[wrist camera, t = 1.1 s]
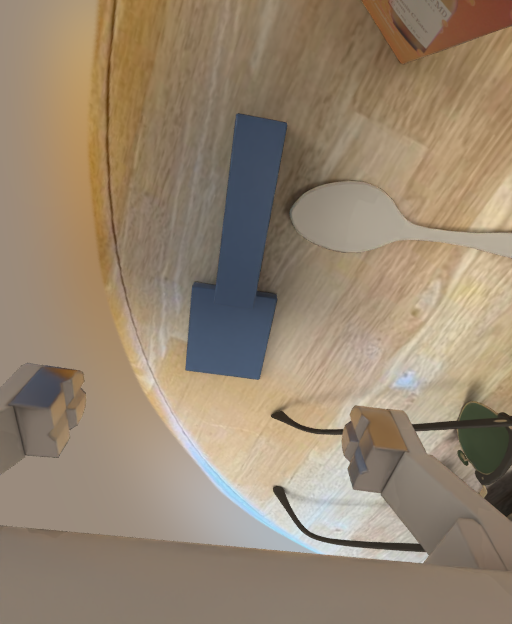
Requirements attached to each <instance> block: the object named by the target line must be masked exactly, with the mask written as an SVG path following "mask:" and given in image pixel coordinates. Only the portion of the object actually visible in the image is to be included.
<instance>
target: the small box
mask: <svg viewBox="0 0 512 624" xmlns="http://www.w3.org/2000/svg"><path fill="white" fill-rule="evenodd" d="M362 2H363V4H364V5H365V7H366V8H367V10H368V12H369V13H370V15H371V17H372V18H373V20H374V21H375V23H376V25H377V26H378V28H379V29H380V31H381V33H382V34H383V36H384V37H385V39H386V41H387V42H388V44H389V45H390V47H391V49H392V50H393V52H394V53H395V55H396V57H397V58H398V60H399V61H400V62H401V63H402V64H405V63H408V62H411V61H414V60H417V59H420V58H423V57H426V56H428V55H431V54H434V53H437V52H440V51H443V50H445V49H448V48H451V47H454V46H457V45H460V44H463V43H466V42H468V41H471V40H473V39H476V38H479V37H481V36H484V35H487V34H490V33H492V32H495V31H498V30H501V29H504V28H507V27H510V26H512V0H362Z"/></svg>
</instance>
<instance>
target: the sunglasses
mask: <svg viewBox="0 0 512 624" xmlns="http://www.w3.org/2000/svg"><path fill="white" fill-rule="evenodd" d="M271 417H272V418H274V419H277V420H279V421H282V422H284V423H286V424H288V425H291V426H293V427H295V428H297V429H300V430H303V431H306V432H310V433H315V434H330V435H342V433H343V430H344V429H313V428H309V427H305V426H302V425H300V424H298V423H296V422H295V421H293V420H292V419H290V418H289V417H288V416H287V415H286V414H285V413H284V412H283V411H279V412H276V413H274V414H272V415H271ZM412 426H413V428H414V430H415V431H429V430H447V429H457V434H458V439H459V442H460V445H461V448H462V450H463V452H464V453H463V452H462V451H461V450H458V456H459V458H460V460H461V461H462V462H463V464H464V465H466V466H467V465H468V461H469V462H470V463H471V464H472V465H473V467H474V468H475V469H476V471H475V475H476V477H477V479H478V480H479V482H480V483H481V484H482V490H481V492H480V493H479V495H481V496H482V497H483V498H484V497H485V496H486V494H487V489H486V487H485V485H489V484H491V483H494V482H495V481H497V480H498V479H500V478H501V477H502V476H503V475H504V474H505V473H506V472H507V470H508V469H509V468H510V466H511V465H512V416H509V415H507V414H506V413H504V412H501V413H499V414H498V413H496V412H495V411H494V410H492V409H491V408H489V407H487V406H485V405H484V404H482V403H479V402H474V401H471V402H468V403H467V404H466V405H465V406H464V408H463V409H462V411H461V414H460V417H459V420H458V421H449V422H436V423H424V424H412ZM464 454H465V455H466V456H465V455H464ZM466 457H467V458H466ZM273 491H274V493H275V495H276V496H277V497H278V499H279V500H280V502H281V503H282V505H283V506H284V508H285V509H286V511H287V512H288V514H289V515H290V517H291V518H292V520H293V521H294V523H295V524H296V525H297V527H298V528H299V529H300V530H301V531H302V532H303V533H304V534H306V535H307V536H309V537H311V538H313V539H315V540H319V541H322V542H326V543H331V544H336V545H343V546H351V547H361V548H373V549H386V550H399V551H415V552H426V551H425V550H424V549H423V547H422V546H421V545H420V544H411V543H382V542H363V541H350V540H339V539H330V538H325V537H321V536H318V535H315V534H313V533H311V532H310V531H308V530H307V529H306V528H305V527H304V526H303V525H302V524H301V523H300V521H299V520H298V518H297V517H296V515H295V514H294V512H293V510H292V508H291V506H290V504H289V502H288V500H287V497H286V494H285V491H284V489H283V488H281V487H278V486H276V487H274V488H273Z"/></svg>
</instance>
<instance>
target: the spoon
mask: <svg viewBox="0 0 512 624" xmlns="http://www.w3.org/2000/svg"><path fill="white" fill-rule="evenodd" d="M289 214H290V218H291V221H292V224H293V226H294V228H295V229H296V231H297V232H298V233H299V234H300V235H301V236H302V237H303V238H304V239H306V240H308V241H310V242H312V243H314V244H316V245H318V246H321V247H324V248H326V249H329V250H334V251H338V252H343V253H361V252H364V251H369V250H373V249H376V248H379V247H381V246H383V245H386V244H388V243H392V242H395V241H398V240H423V241H433V242H443V243H448V244H454V245H460V246H466V247H471V248H475V249H478V250H482V251H485V252H489V253H493V254H496V255H500V256H504V257H508V258H512V233H468V232H456V231H445V230H438V229H432V228H426V227H422V226H418V225H415V224H413V223H411V222H409V221H408V220H406V219H405V217H404V216H403V215H402V213H401V212H400V211H399V209H398V207H397V206H396V204H395V202H394V201H393V199H392V198H391V197H390V196H389V195H388V194H387V193H385V192H384V191H383V190H382V189H381V188H379V187H376V186H374V185H371V184H369V183H366V182H357V181H342V182H334V183H329V184H325V185H321V186H318V187H315V188H313V189H311V190H309V191H307V192H305V193H304V194H303V195H302V196H301V197H300V198H299V199H298V200H297V201H296V202H295V203H294V205H293V206H292V207H291V209H290V212H289Z"/></svg>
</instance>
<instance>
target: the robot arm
mask: <svg viewBox="0 0 512 624" xmlns="http://www.w3.org/2000/svg"><path fill="white" fill-rule="evenodd" d="M83 383H84V374H83V372H82V371H80V370H73V369H67V368H60V367H53V366H44V365H38V364H31V363H26V364H24V365H22V366H21V367H20V368H19V369H18V370H17V371H16V372H15V373H14V374H13V375H12V376H11V377H10V378H9V379H8V380H7V381H6V382H5V383H4V384H3V385H2V386H1V387H0V475H1V474H2V473H4V472H5V471H7V470H8V469H9V468H11V467H12V466H14V465H15V464H16V463H18V462H19V461H20V460H22V459H23V458H24V457H25V455H28V456H40V457H53V458H58V457H59V456H60V454H61V452H62V451H63V449H64V447H65V446H66V444H67V442H68V441H69V439H70V433H69V430H70V429H72V428H74V427H75V426H77V425H78V424H79V422H80V420H81V418H82V416H83V413H84V410H85V406H86V393H85V392H84V391H83V390H82V388H81V386H82V384H83ZM350 417H351V420H352V421H350V422H349V423H347V424H346V425H345V427H344V430H343V433H342V449H343V453H344V456H345V457H346V458H347V459H348V460H349V461H350V465H349V467H348V472H349V476H350V480H351V483H352V487H353V489H354V490H361V491H368V492H376V493H381V496H382V497H383V498H384V499H385V501H386V502H387V503H388V504H389V506H390V507H391V508H392V509H393V511H394V512H395V513H396V514H397V516H398V517H399V518H400V520H401V521H402V522H403V523H404V525H405V526H406V527H407V528H408V530H409V531H410V532H411V533H412V535H413V536H414V537H415V538H416V540H417V541H418V542H419V543H420V545H421V546H422V547H423V549H424V550H425V551H426V552H427V554H428V555H429V556H428V557H427V559H426V560H425V561H424V563H412V562H401V561H389V560H378V559H367V558H356V557H345V556H334V555H323V554H312V553H300V552H289V551H277V550H266V549H256V548H245V547H244V548H243V547H232V546H221V545H211V544H200V543H188V542H178V541H177V542H176V541H166V540H155V539H144V538H133V537H123V536H111V535H100V534H89V533H78V532H67V531H56V530H44V529H34V528H23V527H12V526H0V624H512V521H511V520H509V519H508V518H507V517H506V516H505V515H503V514H502V513H501V512H500V511H499V510H497V509H496V508H495V507H494V506H493V505H491V504H490V503H489V502H488V501H487V500H485V499H484V498H483V497H482V496H481V495H479V494H478V493H477V492H476V491H475V490H473V489H472V488H471V487H470V486H469V485H467V484H466V483H465V482H464V481H463V480H461V479H460V478H459V477H458V476H457V475H455V474H454V473H453V472H452V471H451V470H449V469H448V468H447V467H446V466H445V465H443V464H442V463H441V462H440V461H439V460H437V459H436V458H435V457H434V456H433V455H427V453H426V451H425V449H424V447H423V445H422V443H421V441H420V439H419V437H418V435H417V434H416V432H415V430H414V428H413V426H412V424H411V422H410V420H409V418H408V416H407V414H406V413H405V412H404V411H401V410H392V409H382V408H373V407H365V406H356V405H355V406H354V407H353V408H352V410H351V413H350Z"/></svg>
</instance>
